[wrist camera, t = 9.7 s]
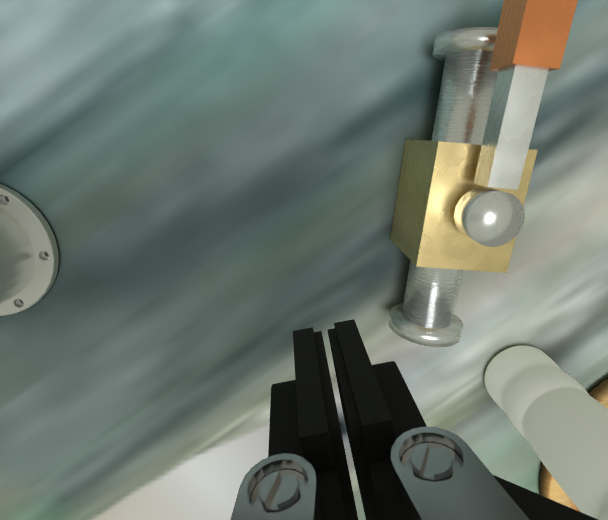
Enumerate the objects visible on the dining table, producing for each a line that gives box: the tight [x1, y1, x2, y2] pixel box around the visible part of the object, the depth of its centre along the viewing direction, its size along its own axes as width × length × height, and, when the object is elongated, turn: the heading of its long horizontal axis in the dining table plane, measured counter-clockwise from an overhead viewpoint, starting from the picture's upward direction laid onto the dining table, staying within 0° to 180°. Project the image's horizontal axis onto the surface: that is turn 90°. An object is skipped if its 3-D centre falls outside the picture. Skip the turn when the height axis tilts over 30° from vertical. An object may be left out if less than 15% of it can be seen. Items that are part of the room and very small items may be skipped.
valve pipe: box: [389, 27, 537, 347], centre depth 32 cm, size 7×24×9 cm, turn 175°
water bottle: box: [484, 346, 608, 520], centre depth 31 cm, size 7×7×25 cm
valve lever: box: [454, 0, 578, 247], centre depth 25 cm, size 16×4×3 cm, turn 175°
